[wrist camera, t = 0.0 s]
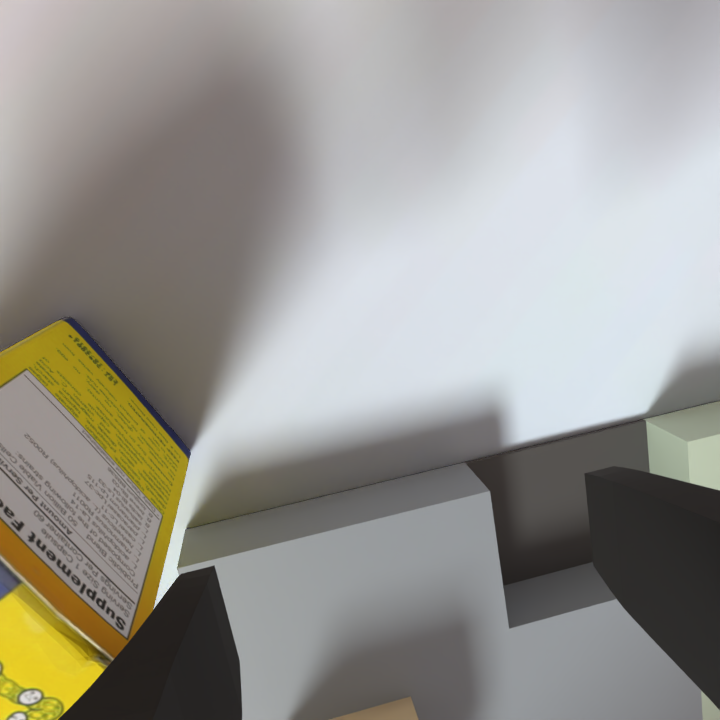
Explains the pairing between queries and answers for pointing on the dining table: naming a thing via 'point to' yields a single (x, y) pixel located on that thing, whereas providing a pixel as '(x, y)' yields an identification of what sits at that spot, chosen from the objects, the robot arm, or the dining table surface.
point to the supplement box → (76, 516)
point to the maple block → (385, 712)
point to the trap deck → (455, 589)
